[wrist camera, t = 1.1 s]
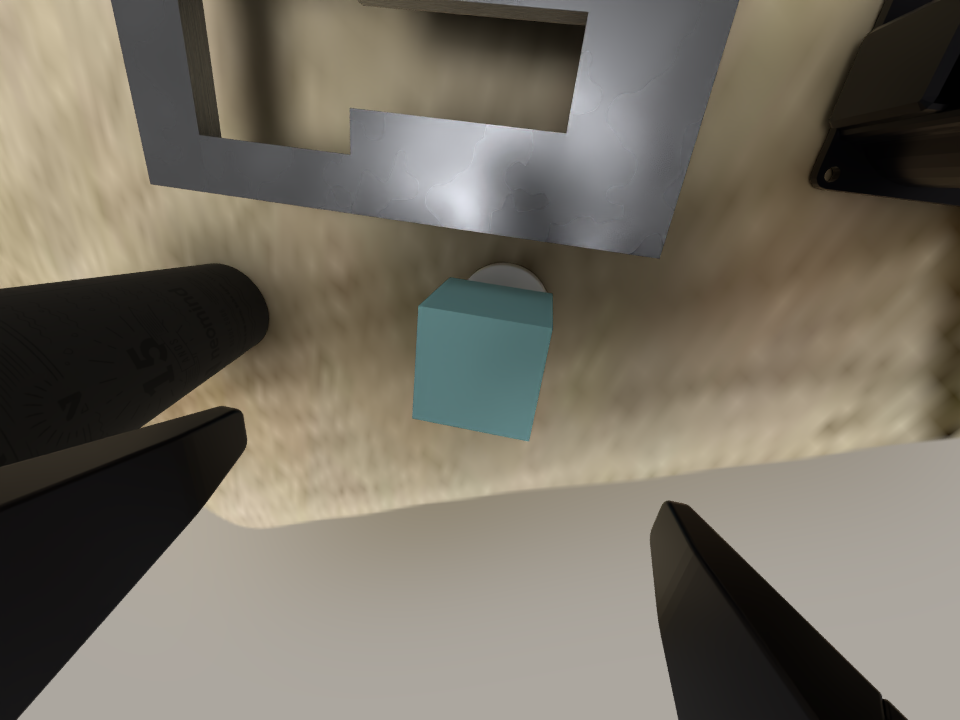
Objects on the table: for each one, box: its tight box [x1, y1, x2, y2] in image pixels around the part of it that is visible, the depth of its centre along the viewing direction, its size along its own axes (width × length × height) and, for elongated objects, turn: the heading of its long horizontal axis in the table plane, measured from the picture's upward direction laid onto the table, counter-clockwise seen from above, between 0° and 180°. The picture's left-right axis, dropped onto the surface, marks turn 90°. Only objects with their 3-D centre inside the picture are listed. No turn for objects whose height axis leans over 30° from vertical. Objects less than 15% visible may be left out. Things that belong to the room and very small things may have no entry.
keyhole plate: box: [111, 0, 739, 259], centre depth 14 cm, size 18×9×5 cm, turn 83°
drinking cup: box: [0, 264, 269, 467], centre depth 13 cm, size 8×8×20 cm
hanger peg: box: [412, 263, 553, 441], centre depth 16 cm, size 4×4×8 cm
